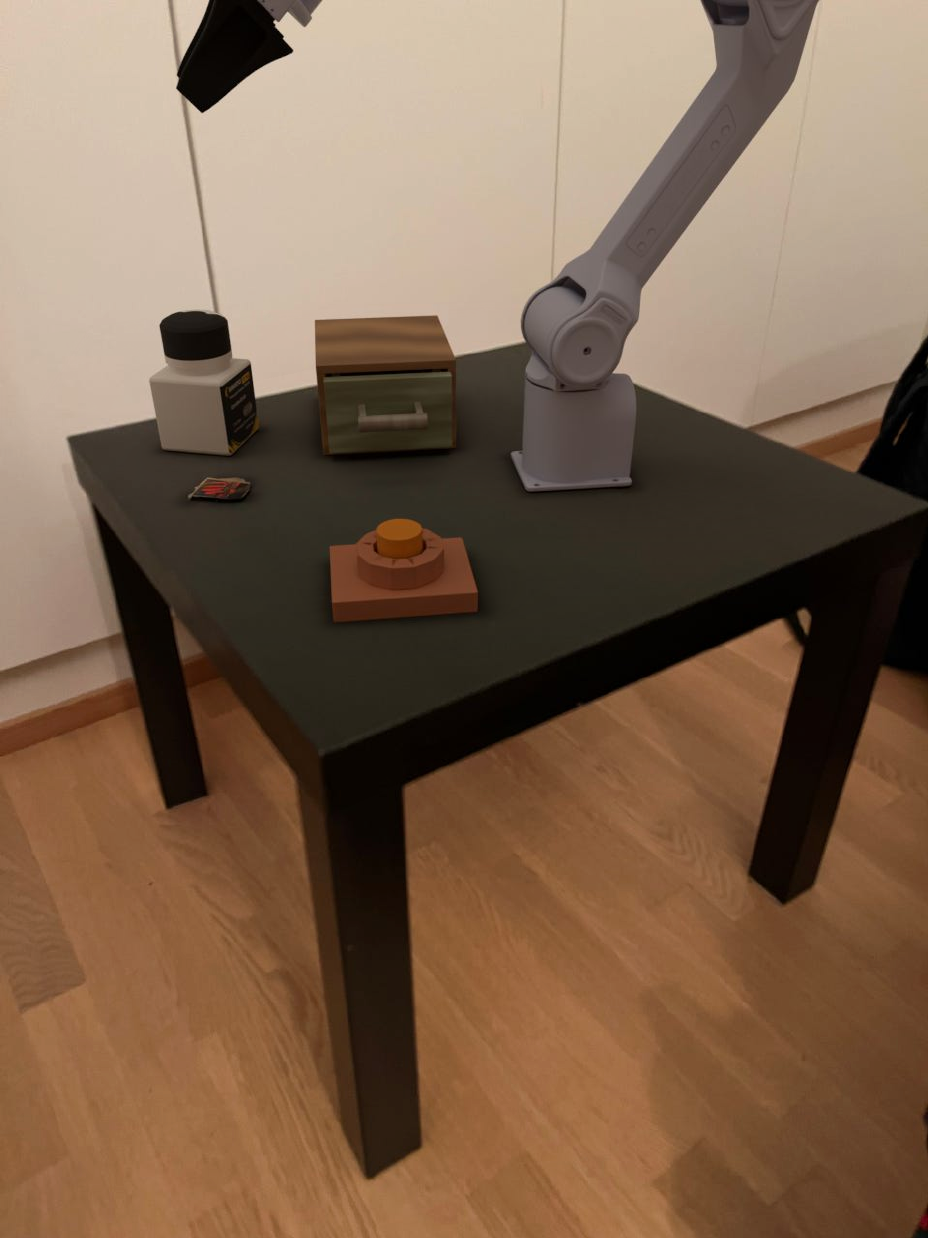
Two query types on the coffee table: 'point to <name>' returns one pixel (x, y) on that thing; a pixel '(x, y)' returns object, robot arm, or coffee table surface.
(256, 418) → the medicine bottle
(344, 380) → the drawer
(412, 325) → the cabinet
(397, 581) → the button box
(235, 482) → the matchbox
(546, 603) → the coffee table surface
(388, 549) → the button
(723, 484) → the coffee table surface
